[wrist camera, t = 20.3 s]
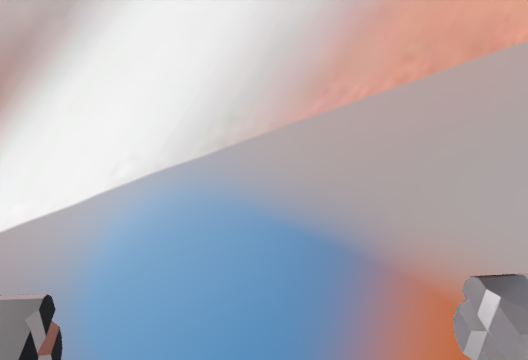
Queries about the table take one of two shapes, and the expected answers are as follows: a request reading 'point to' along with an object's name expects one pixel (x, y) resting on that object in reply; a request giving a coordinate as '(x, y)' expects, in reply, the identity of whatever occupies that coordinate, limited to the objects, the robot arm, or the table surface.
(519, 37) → the table surface
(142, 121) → the table surface
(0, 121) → the table surface
